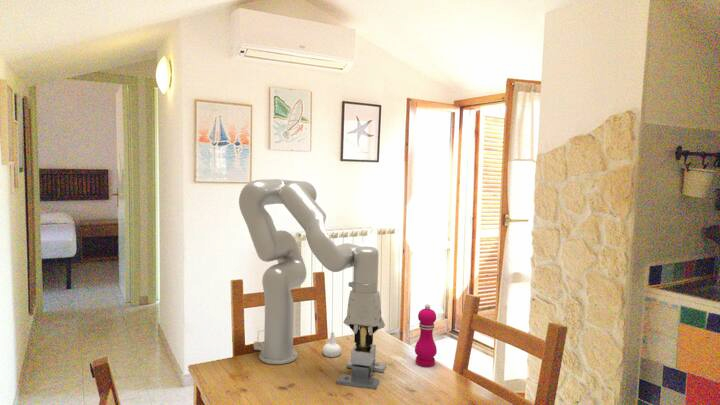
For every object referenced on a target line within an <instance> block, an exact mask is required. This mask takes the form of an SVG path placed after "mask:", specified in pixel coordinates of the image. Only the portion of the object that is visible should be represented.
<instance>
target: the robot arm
mask: <svg viewBox="0 0 720 405" xmlns="http://www.w3.org/2000/svg"><path fill="white" fill-rule="evenodd" d="M316 200H317V191H316V188H315V187H314V185H313V184H312V183H310V182H307V181H299V180H298V181H297V180H291V179H290V180H288V179H280V178H279V179H277V178H276V179H275V178H274V179H273V178H272V179H269V178H268V179H255V180H252V181H250V182H248V183H247V184H245V185H244V186H243V188H242V189H241V190H240V194H239V197H238V206H239V210H240V213H241V216H242V218H243V220H244V222H245V224H246V227H247V229H248V232H249V235H250V238H251V241H252V244H253V247H254V249H255V252H256V255H257V256H258V259H260V260H261V261H262V262H267V263H270V262H273V261H277V263H276V264H275V263H274V265H271V266H269V267H268V268H267V269H266V270H265V271H264V272H263V275H262V280H261V281H262V282H261V283H262V289H263V296H264V297H263V298H264V332H263V333H264V334H263V335H264V338H263V342H262V341H261V342H260V341H254V343H253V350H254V351H260V353H259V355H258V356H259V360H260V361H261V362H263V363H265V364H269V365H284V364H290V363H292V362H294V361H296V359H297V358H298V352H297V350H296V349H294V319H295V318H294V316H295V315H294V310H295V309H294V308H295V305H294V299H293V295H292V291H291V290H292V289H295V288H297V287H300V286H301V285H302V284H303V283H304V282H305V281H306V279H307V267H306V264H305V262H304V259H303V256H302V253H301V250H300V248H299V245H298V243H297V241H296V238H295V237H294V236H293V235H292V234H291V233H290V232H288V230H287V231H286V230H277V228H276V226H275V224H274V220H273V218H272V216H271V215H270V213H269V212H268V211H267V210H266V208H265V206H267V205H268V206H270V205H277V204H278V205H279V204H280V205H283V206H284V207H285V208H286V210H287V211H288V212H289V213H290V215H291V216H293V218H294V219H295V220H296V222H297V223H298V224H299V225H300V227H301V228H302V229H303V231H304V232H305V237H306V241H307V244H308V247H309V249H310V250H311V252H312V254H313V255H314V257H316V259H317V260H318V262H320V264H321V265H322V266H323V267H324V268H325V269H326V270H328V271H329V272H331V273H332V272H333V273H338V272H341V271H344V270H346V269H348V268H353V273H352V275H353V278H352V279H353V281H350V282H348V287H350V288H352V290H350V291H349V294H348V295H349V296H348V300H347V308H346V309H347V311H346V317H345V318H344V320H343V324H344V325H346V326H348V327H349V328H350V330H352V331H353V334H354V340H353V341H354V343H355V345H356V346H357V347H358V346H359V326H360V325H362V326H368V327H369V328H368V335H367V348H369V347H370V345H371V344H372V345H373V342H374V333H376V332H377V331H378V330H381V329H384V328H385V326H386V324H385V322H384V320H383V317H382V301H381V293H380V291H378V285H379V284H378V283H379V282H378V281H379V280H378V278H379V256H380V255H379V250H378V249H377V248H376V247H373V246H361V245H356V244H353V243H341V244H339V245H336V244H335V243H334V242H333V240H332V239H331V238H330V236H329V235H328V233H327V231H326V227H325V223H326V220H327V213H326V212H325V211H324V210H323V209H322V208H321V206H320V205H319V204H318V203H317V202H316Z"/></svg>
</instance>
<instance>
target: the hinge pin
mask: <svg viewBox="0 0 720 405" xmlns="http://www.w3.org/2000/svg"><path fill="white" fill-rule="evenodd" d="M368 332H369V327H368V326H362V325H360V326H359V351H363V352H368V348H367V335H368Z"/></svg>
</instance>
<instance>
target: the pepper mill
mask: <svg viewBox="0 0 720 405" xmlns="http://www.w3.org/2000/svg"><path fill="white" fill-rule="evenodd" d="M417 319H418V321H419V323H418V324H419V325H418V327H419V330H420V333H419V334H420V335H419V338H418V339H417V342H416V344H415V347H414V352H415V353H414V354H415V355H416V356H415V364H416V365H418V366H419V367H424V368H428V367H429V368H430V367H433V366H434V365H436V364H435V363H436V362H435V361H436V359H435V356H436V355H437V350H438V349H437V345H436V342H435V341H434V337H433V332H434V329H435V322H436V321H437V313H436V312H435V310H433V309H432V308H431V305H430V304H428V303H427V304H425V305H424V308H421V310H419V312H418V314H417Z"/></svg>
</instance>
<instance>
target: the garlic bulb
mask: <svg viewBox="0 0 720 405" xmlns="http://www.w3.org/2000/svg"><path fill="white" fill-rule="evenodd" d="M335 337H336V336H335V332H334V331H331V332H330V339H329V341H328V343H326V344H325V345H324V346H323V347H322V355H324V356H325V357H328V358H337V357H339V356H340V355H341V353H342V349H341V345H339V344H337V342H336V338H335Z"/></svg>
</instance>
